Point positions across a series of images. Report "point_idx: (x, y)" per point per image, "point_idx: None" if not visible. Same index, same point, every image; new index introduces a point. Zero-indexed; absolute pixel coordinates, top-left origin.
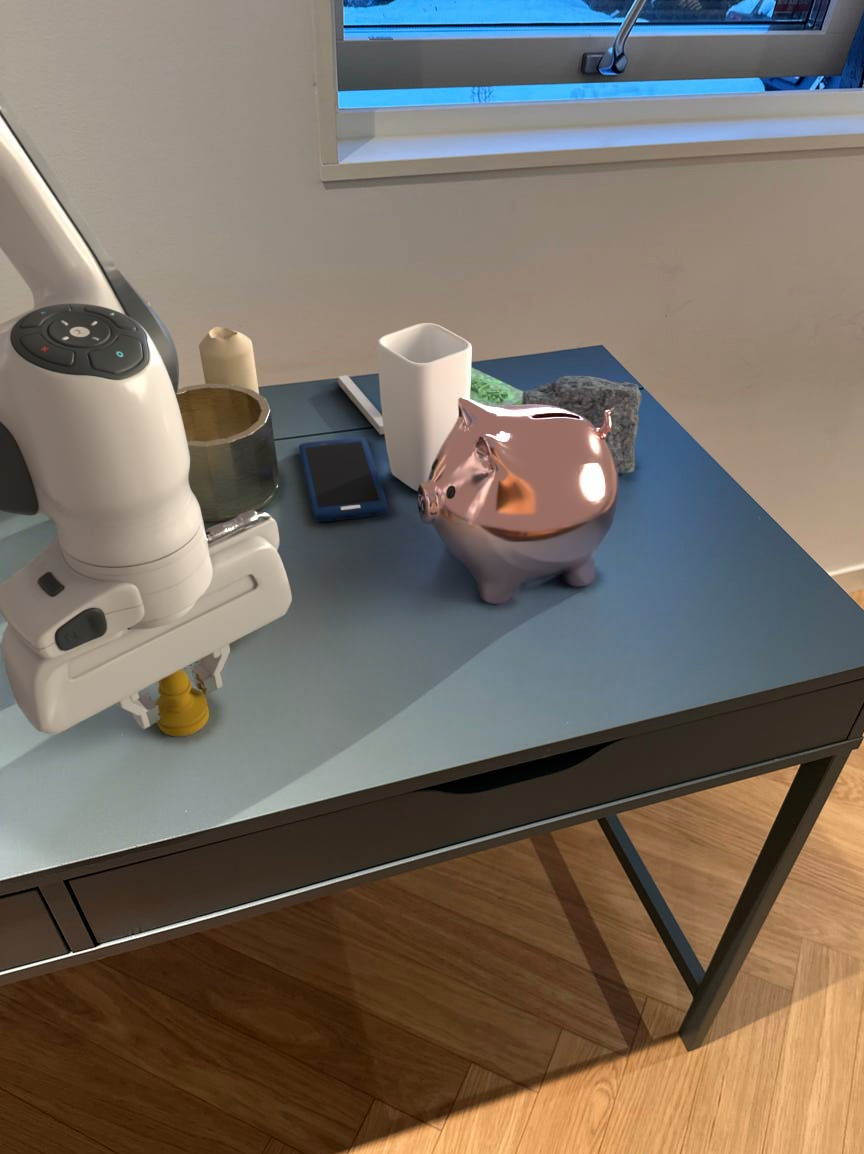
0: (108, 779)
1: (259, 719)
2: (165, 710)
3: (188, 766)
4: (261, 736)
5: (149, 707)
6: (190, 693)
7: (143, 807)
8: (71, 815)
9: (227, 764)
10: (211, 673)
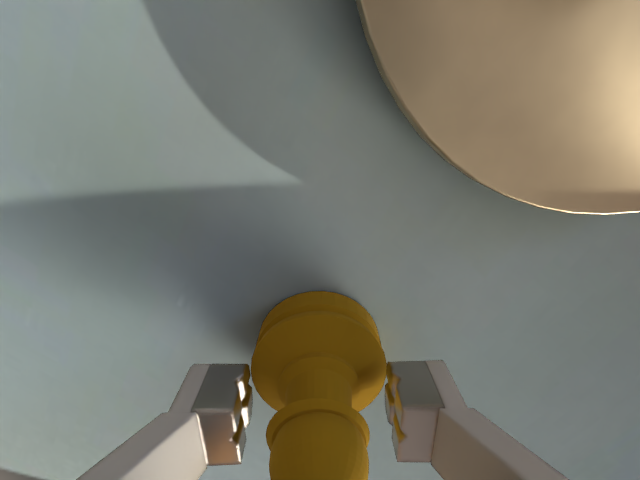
0: (114, 383)
1: None
2: (276, 384)
3: (262, 438)
4: None
5: (216, 458)
6: (355, 393)
7: None
8: (28, 411)
9: None
10: (434, 460)
